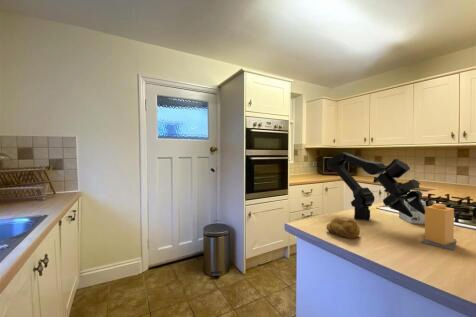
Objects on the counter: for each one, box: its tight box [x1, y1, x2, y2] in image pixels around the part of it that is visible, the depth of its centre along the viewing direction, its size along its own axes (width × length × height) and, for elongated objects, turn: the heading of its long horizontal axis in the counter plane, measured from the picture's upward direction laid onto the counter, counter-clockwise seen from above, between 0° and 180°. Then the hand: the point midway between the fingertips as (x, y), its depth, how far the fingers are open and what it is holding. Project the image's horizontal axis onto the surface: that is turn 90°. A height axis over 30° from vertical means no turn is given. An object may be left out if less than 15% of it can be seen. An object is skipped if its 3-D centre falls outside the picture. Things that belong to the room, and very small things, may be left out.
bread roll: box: [326, 216, 361, 240], centre depth 89 cm, size 13×10×8 cm
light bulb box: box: [398, 199, 427, 225], centre depth 105 cm, size 11×7×11 cm, turn 168°
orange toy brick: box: [424, 203, 455, 245], centre depth 80 cm, size 6×6×14 cm
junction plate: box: [421, 236, 457, 251], centre depth 80 cm, size 12×8×5 cm
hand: (418, 215), depth 86 cm, fingers open, 9 cm apart
